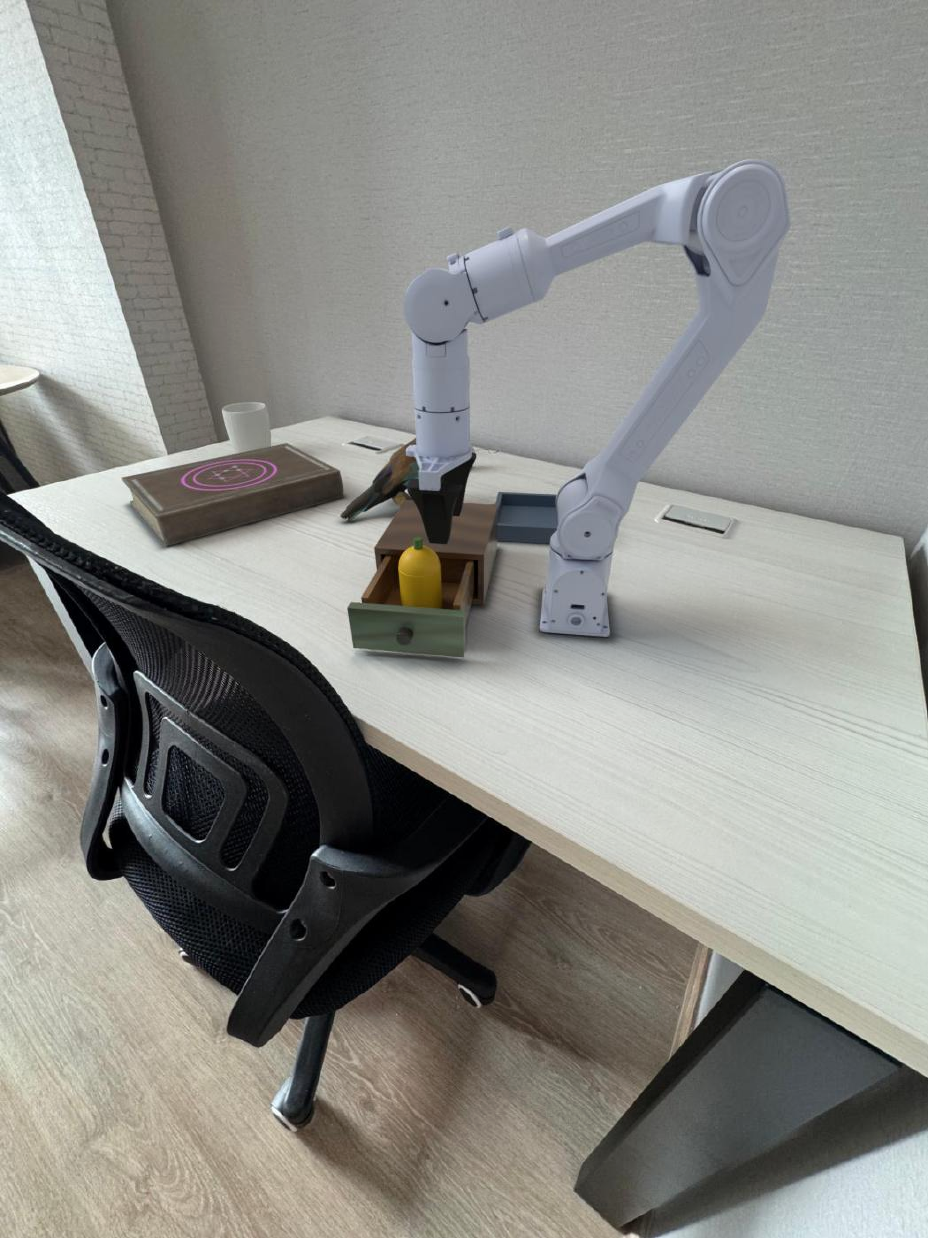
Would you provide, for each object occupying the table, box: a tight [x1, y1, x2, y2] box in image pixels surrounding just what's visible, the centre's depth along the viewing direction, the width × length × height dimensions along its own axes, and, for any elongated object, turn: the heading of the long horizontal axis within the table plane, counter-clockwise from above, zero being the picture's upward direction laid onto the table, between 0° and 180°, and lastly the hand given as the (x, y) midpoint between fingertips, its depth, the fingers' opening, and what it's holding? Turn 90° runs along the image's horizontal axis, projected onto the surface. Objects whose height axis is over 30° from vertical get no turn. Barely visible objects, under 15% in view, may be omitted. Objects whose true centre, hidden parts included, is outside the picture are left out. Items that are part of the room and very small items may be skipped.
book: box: [121, 442, 344, 547], centre depth 99 cm, size 30×22×5 cm
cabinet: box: [373, 500, 498, 606], centre depth 76 cm, size 16×14×7 cm
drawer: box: [346, 554, 476, 659], centre depth 65 cm, size 16×12×5 cm
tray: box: [494, 491, 558, 545], centre depth 90 cm, size 14×16×3 cm
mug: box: [221, 401, 272, 454], centre depth 121 cm, size 13×9×10 cm
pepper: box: [398, 537, 442, 609], centre depth 64 cm, size 5×5×9 cm
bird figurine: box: [339, 437, 420, 523], centre depth 93 cm, size 13×10×20 cm
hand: (445, 527), depth 65 cm, fingers open, 7 cm apart
